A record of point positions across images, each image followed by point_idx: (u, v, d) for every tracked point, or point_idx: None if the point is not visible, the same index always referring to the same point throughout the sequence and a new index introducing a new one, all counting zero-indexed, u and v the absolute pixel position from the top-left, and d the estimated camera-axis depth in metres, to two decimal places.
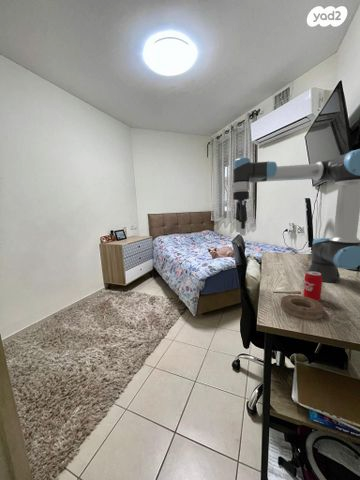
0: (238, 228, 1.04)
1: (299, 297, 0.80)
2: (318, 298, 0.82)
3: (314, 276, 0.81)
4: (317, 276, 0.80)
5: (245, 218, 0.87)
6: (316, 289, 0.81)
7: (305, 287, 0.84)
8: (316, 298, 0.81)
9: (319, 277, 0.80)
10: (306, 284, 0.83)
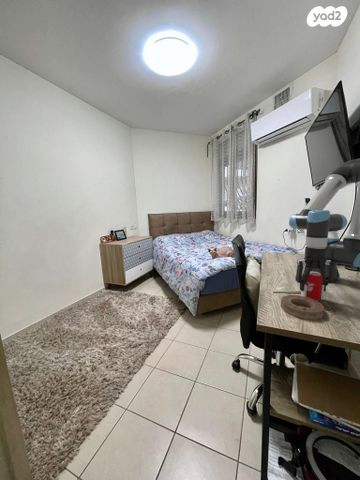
0: None
1: (299, 297, 0.80)
2: (318, 298, 0.82)
3: (314, 276, 0.81)
4: (317, 276, 0.80)
5: (297, 280, 0.84)
6: (316, 289, 0.81)
7: None
8: (316, 298, 0.81)
9: (319, 277, 0.80)
10: (306, 284, 0.83)
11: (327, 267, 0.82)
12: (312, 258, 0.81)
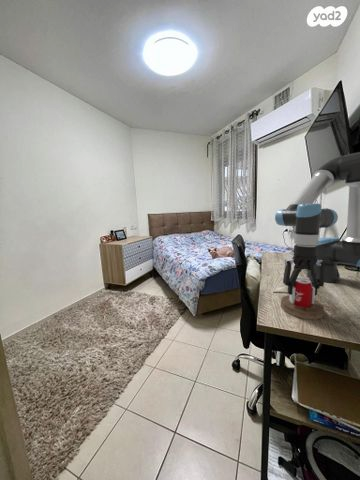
0: None
1: None
2: None
3: (303, 284, 0.72)
4: (306, 284, 0.72)
5: (285, 282, 0.75)
6: (305, 299, 0.72)
7: None
8: None
9: (308, 286, 0.72)
10: None
11: (318, 268, 0.73)
12: (301, 258, 0.72)
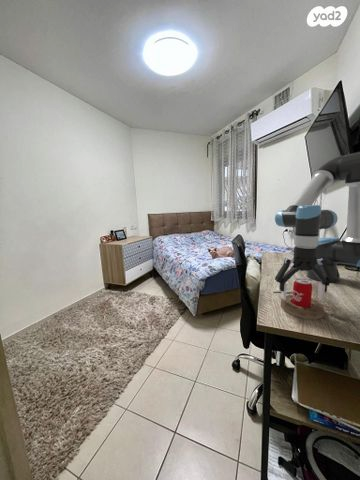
0: (319, 294, 0.74)
1: None
2: None
3: (303, 285, 0.72)
4: (306, 285, 0.72)
5: (276, 279, 0.75)
6: (305, 299, 0.72)
7: (293, 297, 0.75)
8: None
9: (309, 286, 0.72)
10: (294, 293, 0.75)
11: (321, 267, 0.72)
12: (302, 261, 0.72)
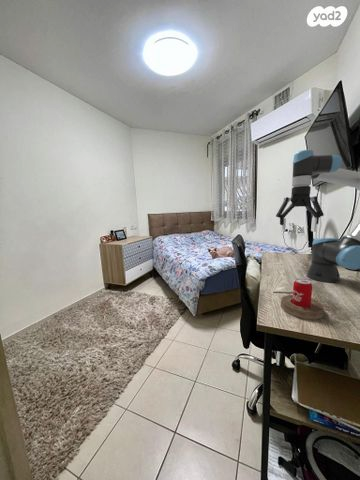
0: (312, 226, 0.91)
1: None
2: None
3: (303, 285, 0.72)
4: (306, 285, 0.72)
5: (277, 214, 0.92)
6: (305, 299, 0.72)
7: (293, 297, 0.75)
8: None
9: (309, 286, 0.72)
10: (294, 293, 0.75)
11: (314, 203, 0.89)
12: (298, 198, 0.89)
